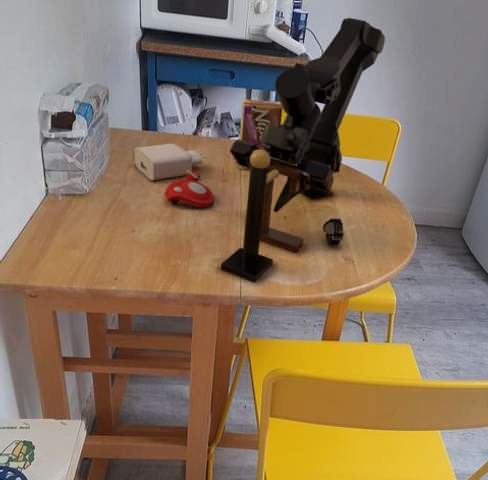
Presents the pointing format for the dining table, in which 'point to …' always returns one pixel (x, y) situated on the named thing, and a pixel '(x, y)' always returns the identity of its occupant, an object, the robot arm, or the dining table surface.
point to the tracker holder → (190, 191)
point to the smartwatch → (333, 231)
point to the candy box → (258, 120)
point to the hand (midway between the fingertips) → (263, 207)
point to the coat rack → (253, 223)
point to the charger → (165, 161)
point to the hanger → (268, 233)
